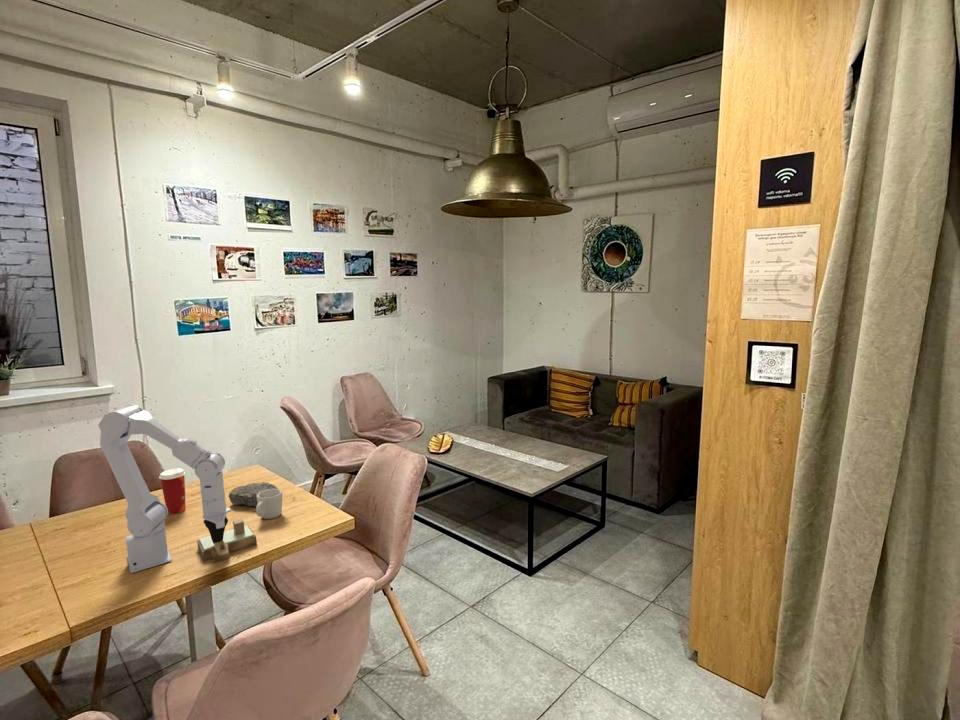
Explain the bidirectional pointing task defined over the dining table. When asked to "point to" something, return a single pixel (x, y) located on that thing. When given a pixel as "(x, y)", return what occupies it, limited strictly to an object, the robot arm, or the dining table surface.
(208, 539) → the lid
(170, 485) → the paper cup
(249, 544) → the wooden tray
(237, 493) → the rock
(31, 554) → the dining table surface
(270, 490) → the cup
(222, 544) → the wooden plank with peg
